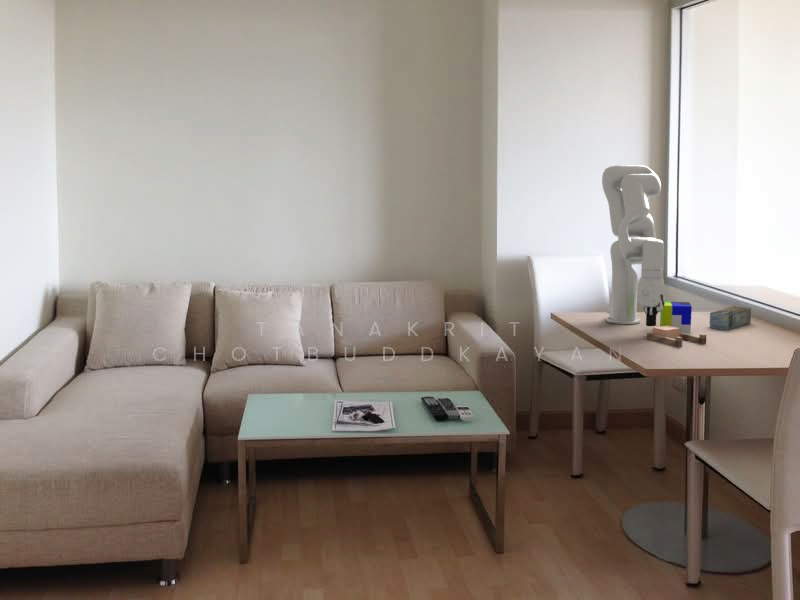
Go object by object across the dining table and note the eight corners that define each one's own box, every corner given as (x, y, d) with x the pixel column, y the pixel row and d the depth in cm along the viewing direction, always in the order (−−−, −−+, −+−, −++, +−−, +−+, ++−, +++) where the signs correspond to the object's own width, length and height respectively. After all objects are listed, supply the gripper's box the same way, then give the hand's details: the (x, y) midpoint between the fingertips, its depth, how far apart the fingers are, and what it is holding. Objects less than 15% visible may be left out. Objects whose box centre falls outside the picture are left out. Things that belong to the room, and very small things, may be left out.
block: (652, 338, 337) (652, 327, 336) (666, 336, 340) (666, 325, 340) (665, 341, 332) (666, 330, 331) (679, 339, 336) (679, 328, 335)
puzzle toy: (690, 334, 345) (691, 306, 343) (661, 332, 347) (662, 305, 345) (687, 329, 354) (689, 302, 353) (659, 328, 356) (660, 301, 355)
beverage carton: (708, 328, 357) (709, 310, 356) (731, 321, 371) (732, 304, 370) (728, 330, 352) (729, 312, 351) (751, 324, 365) (752, 307, 364)
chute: (646, 338, 336) (646, 329, 336) (673, 335, 341) (673, 327, 341) (678, 346, 322) (678, 337, 321) (706, 343, 327) (706, 334, 327)
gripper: (630, 273, 345) (628, 323, 347) (658, 276, 332) (656, 329, 334) (646, 272, 348) (645, 322, 351) (675, 275, 335) (673, 327, 337)
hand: (650, 325), depth 342 cm, fingers closed
